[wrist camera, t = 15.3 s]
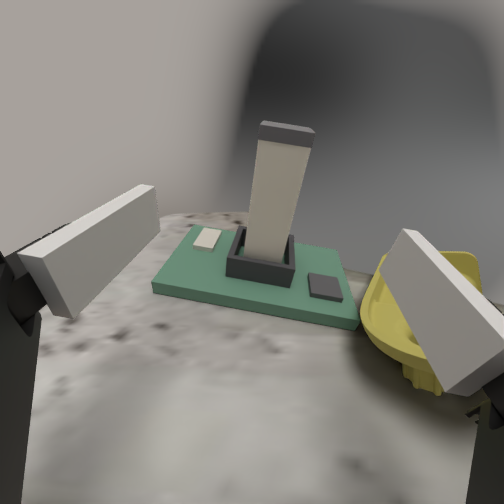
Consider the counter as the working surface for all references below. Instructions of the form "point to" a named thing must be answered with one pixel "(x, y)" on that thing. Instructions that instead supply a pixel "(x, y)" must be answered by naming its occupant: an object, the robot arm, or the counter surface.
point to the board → (259, 278)
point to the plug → (276, 188)
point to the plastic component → (397, 329)
